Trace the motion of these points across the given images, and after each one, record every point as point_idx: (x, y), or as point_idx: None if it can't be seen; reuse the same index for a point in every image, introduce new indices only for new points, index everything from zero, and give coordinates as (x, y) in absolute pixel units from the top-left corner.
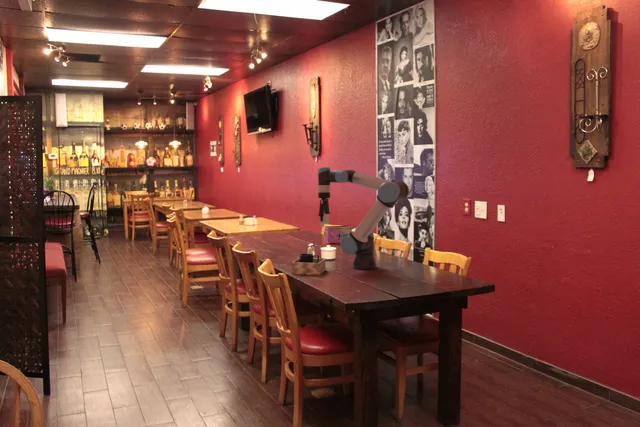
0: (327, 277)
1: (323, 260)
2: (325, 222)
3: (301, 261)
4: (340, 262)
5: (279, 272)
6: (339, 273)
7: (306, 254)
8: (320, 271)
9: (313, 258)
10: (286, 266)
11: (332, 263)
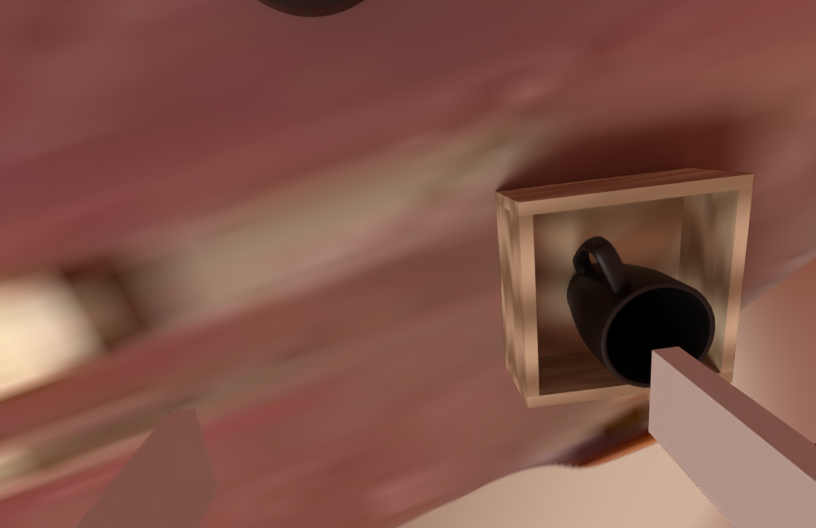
0: (759, 85)
1: (596, 192)
2: (196, 498)
3: (671, 337)
4: (167, 181)
5: (641, 422)
6: (603, 44)
7: (604, 351)
8: (666, 173)
9: (534, 298)
10: (451, 457)
11: (235, 226)
